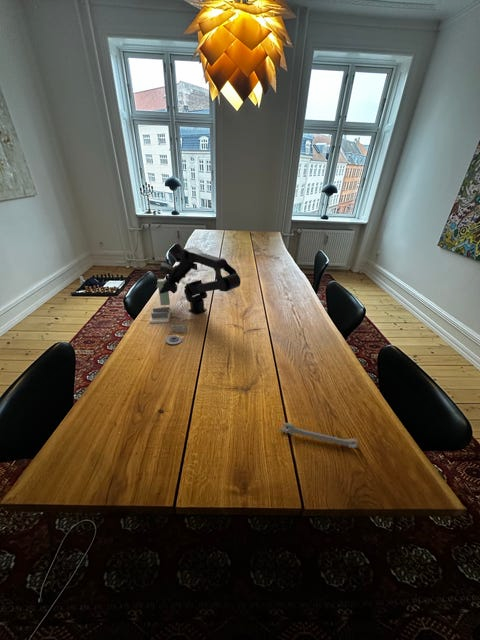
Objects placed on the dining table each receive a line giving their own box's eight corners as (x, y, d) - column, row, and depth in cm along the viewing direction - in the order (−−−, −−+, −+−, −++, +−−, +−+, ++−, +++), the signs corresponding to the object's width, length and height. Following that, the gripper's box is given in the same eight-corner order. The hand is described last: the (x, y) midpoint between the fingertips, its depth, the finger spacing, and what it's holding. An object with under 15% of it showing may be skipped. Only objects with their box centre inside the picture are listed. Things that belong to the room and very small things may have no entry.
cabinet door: (169, 302, 127) (167, 279, 121) (169, 305, 125) (166, 281, 119) (159, 303, 127) (156, 279, 120) (158, 305, 125) (155, 281, 118)
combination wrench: (360, 438, 64) (281, 419, 68) (360, 442, 63) (280, 423, 67) (355, 446, 66) (279, 428, 70) (356, 451, 65) (278, 432, 69)
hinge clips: (170, 311, 123) (170, 305, 121) (168, 322, 115) (167, 315, 113) (153, 312, 122) (152, 305, 120) (150, 323, 113) (149, 316, 112)
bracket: (163, 345, 101) (162, 337, 99) (172, 331, 109) (171, 324, 107) (179, 346, 100) (178, 339, 98) (187, 332, 109) (186, 325, 107)
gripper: (170, 251, 123) (149, 273, 127) (166, 264, 107) (142, 289, 111) (188, 267, 128) (167, 288, 132) (186, 281, 112) (163, 304, 116)
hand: (160, 291), depth 123 cm, fingers closed on cabinet door, 2 cm apart
